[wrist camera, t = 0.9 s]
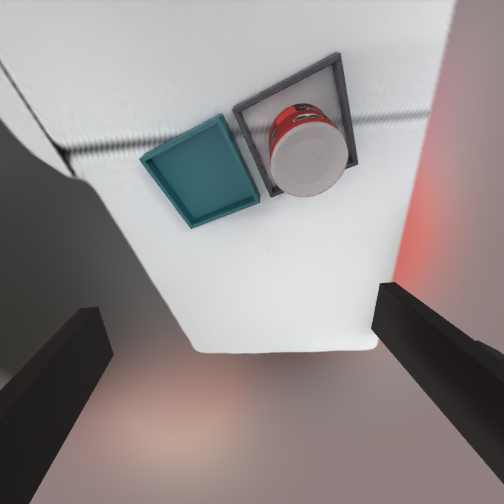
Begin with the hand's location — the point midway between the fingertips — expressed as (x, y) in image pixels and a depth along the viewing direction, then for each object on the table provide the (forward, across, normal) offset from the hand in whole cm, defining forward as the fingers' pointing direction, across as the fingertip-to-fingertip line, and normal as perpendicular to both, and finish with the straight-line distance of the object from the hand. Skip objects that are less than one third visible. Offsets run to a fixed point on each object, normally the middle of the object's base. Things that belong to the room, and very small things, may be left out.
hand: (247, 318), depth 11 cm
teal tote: (+30, -4, +5) cm, 31 cm away
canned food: (+26, +10, +10) cm, 30 cm away
